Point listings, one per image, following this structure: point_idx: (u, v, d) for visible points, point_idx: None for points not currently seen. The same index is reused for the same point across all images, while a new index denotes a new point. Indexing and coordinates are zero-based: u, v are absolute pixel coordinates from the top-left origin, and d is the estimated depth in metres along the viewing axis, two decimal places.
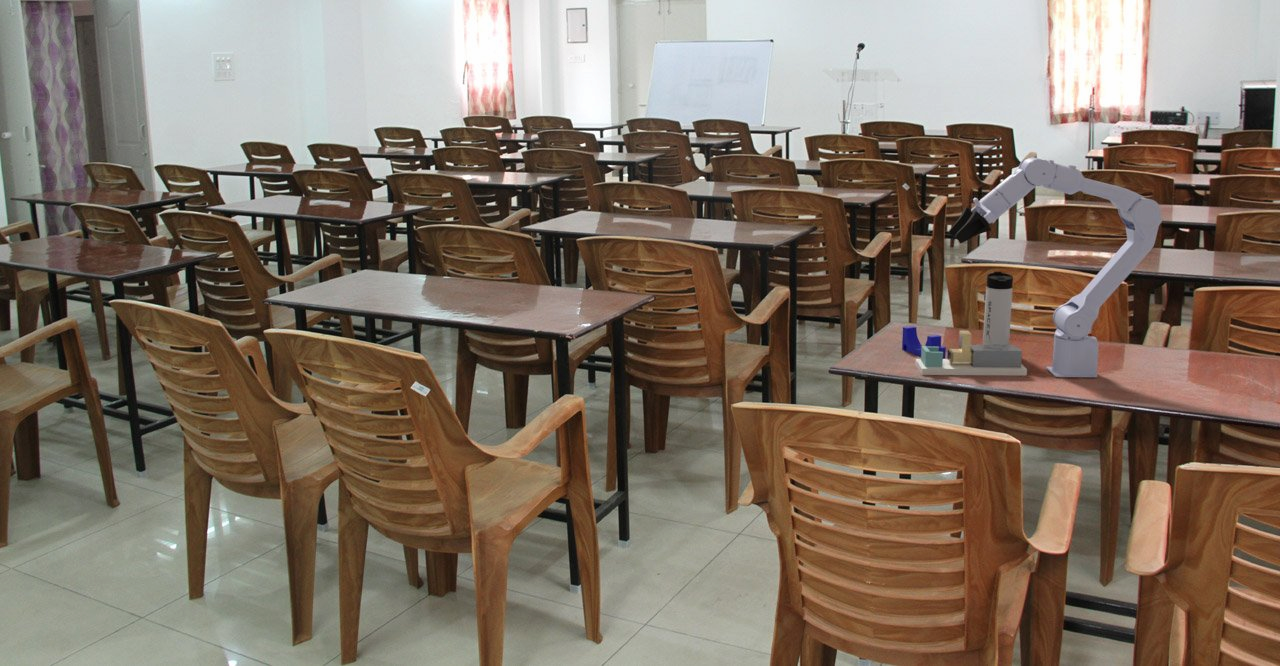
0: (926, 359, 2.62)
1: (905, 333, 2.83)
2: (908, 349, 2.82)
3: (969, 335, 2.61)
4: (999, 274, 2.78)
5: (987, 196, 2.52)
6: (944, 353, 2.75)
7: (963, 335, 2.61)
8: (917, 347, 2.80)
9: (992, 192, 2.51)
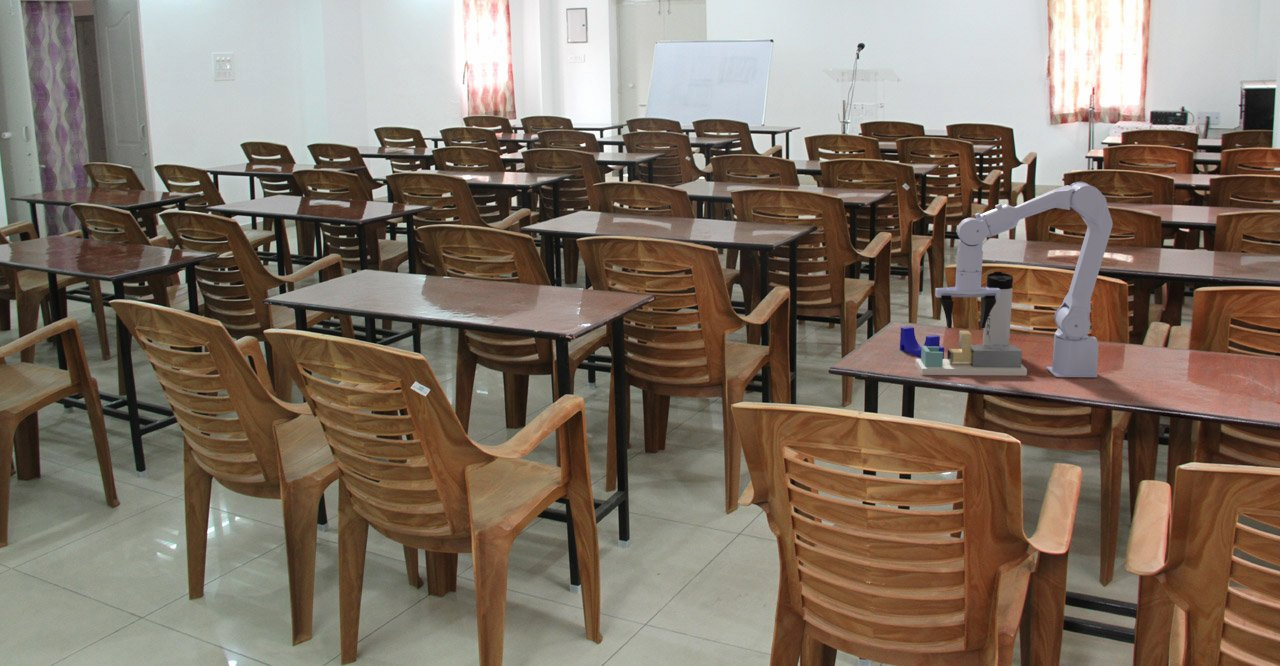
0: (926, 359, 2.62)
1: (903, 333, 2.82)
2: (906, 349, 2.82)
3: (969, 335, 2.61)
4: (999, 274, 2.78)
5: None
6: None
7: (963, 335, 2.61)
8: (915, 347, 2.80)
9: None
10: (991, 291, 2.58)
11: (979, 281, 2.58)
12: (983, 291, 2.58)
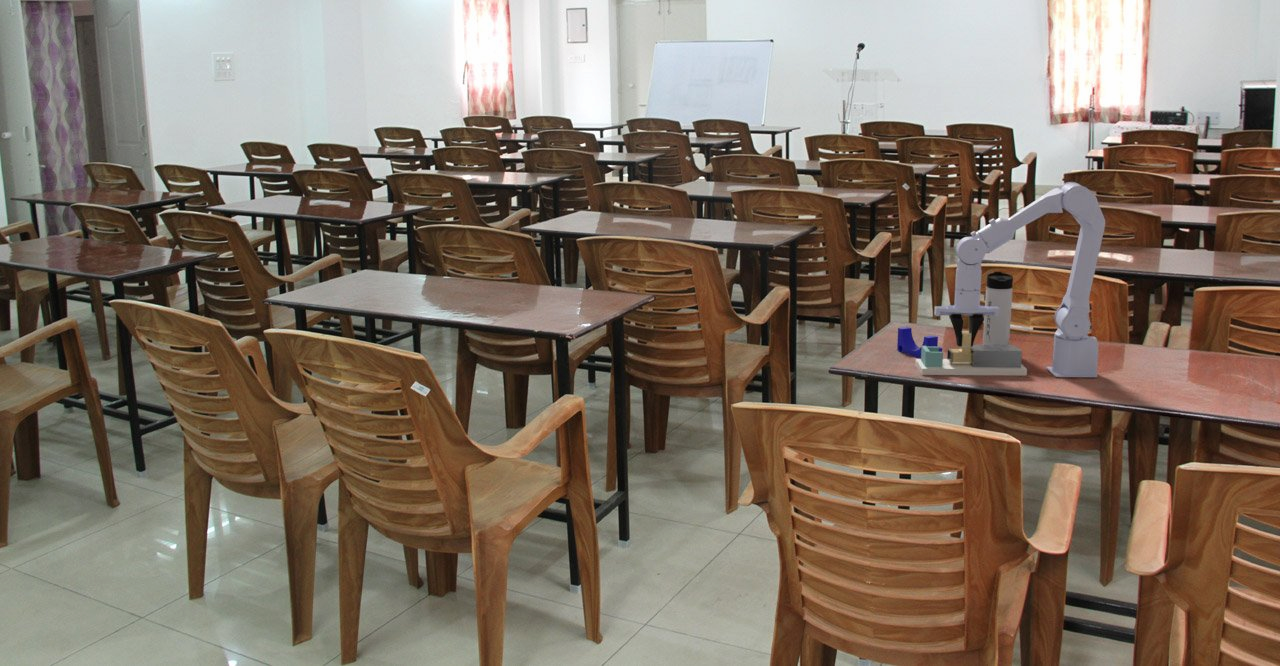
0: (926, 359, 2.62)
1: (900, 334, 2.82)
2: (904, 350, 2.81)
3: (969, 335, 2.61)
4: (999, 274, 2.78)
5: None
6: None
7: (963, 335, 2.61)
8: (913, 348, 2.80)
9: None
10: (990, 309, 2.59)
11: (978, 300, 2.59)
12: (982, 310, 2.59)
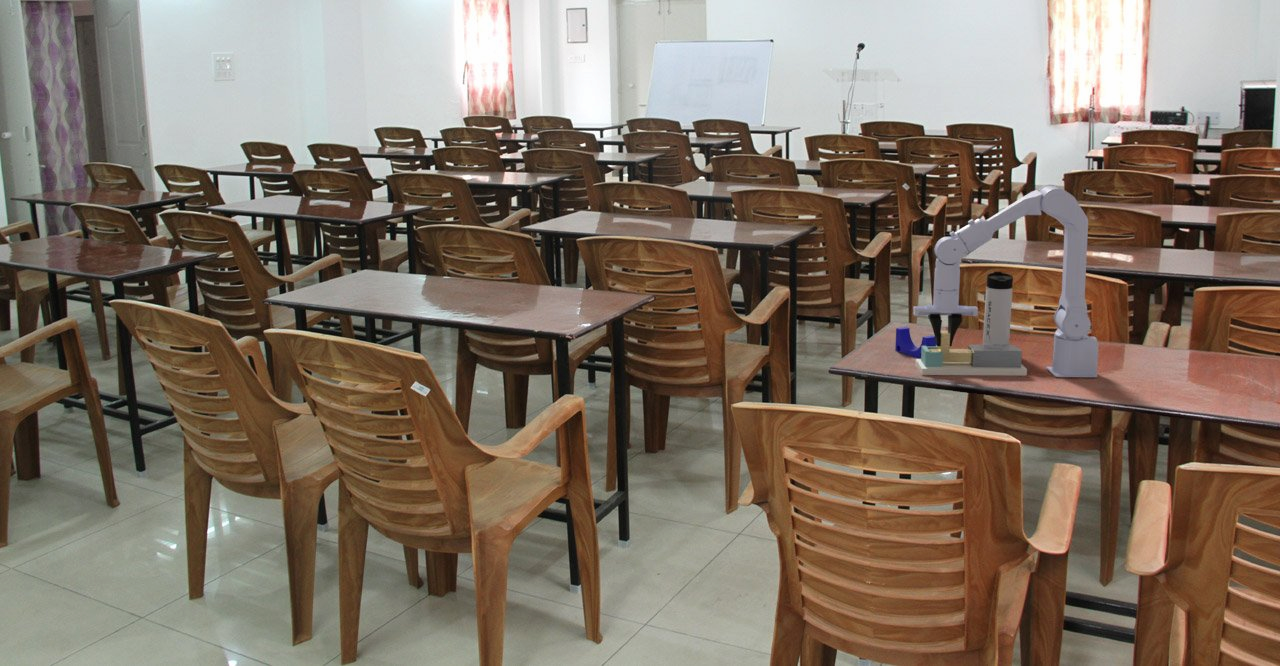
0: (926, 359, 2.62)
1: (898, 334, 2.82)
2: (902, 350, 2.81)
3: (948, 335, 2.61)
4: (999, 274, 2.78)
5: None
6: None
7: (942, 335, 2.61)
8: (911, 348, 2.80)
9: None
10: (968, 309, 2.60)
11: (956, 300, 2.59)
12: (960, 310, 2.59)
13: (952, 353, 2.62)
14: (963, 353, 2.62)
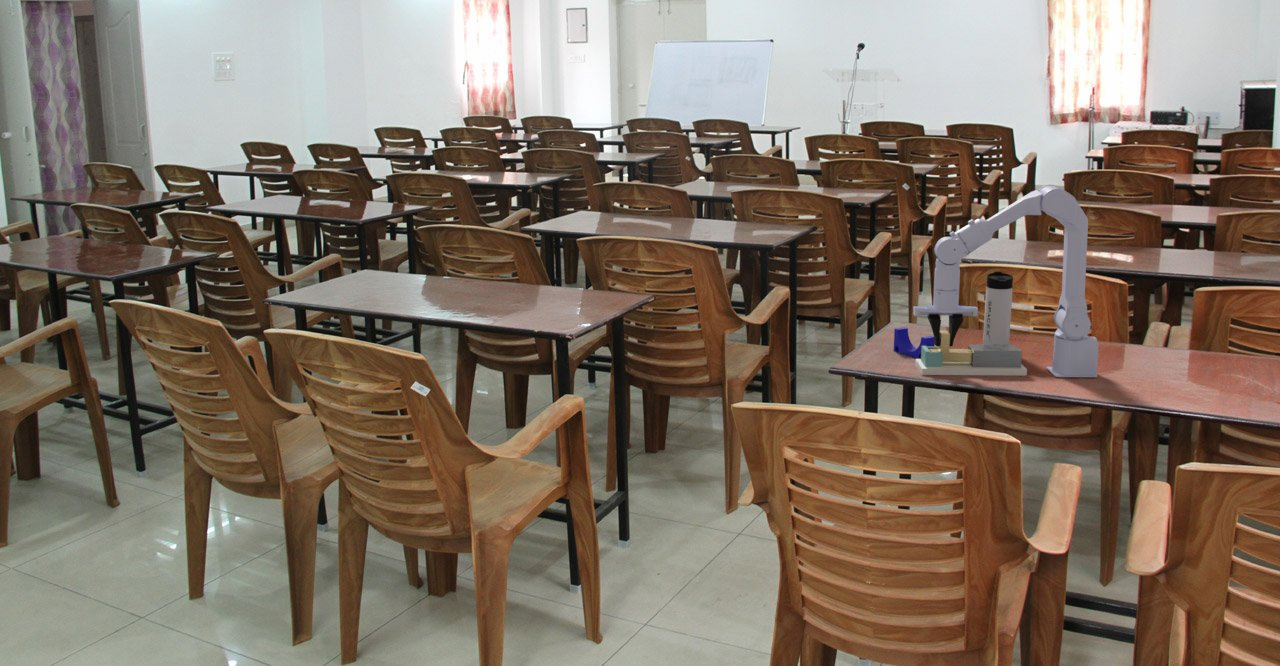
0: (926, 359, 2.62)
1: (897, 334, 2.81)
2: (900, 350, 2.81)
3: (948, 335, 2.61)
4: (999, 274, 2.78)
5: None
6: None
7: (941, 335, 2.61)
8: (909, 348, 2.79)
9: None
10: (968, 309, 2.60)
11: (956, 300, 2.59)
12: (960, 310, 2.59)
13: (952, 353, 2.62)
14: (963, 353, 2.62)
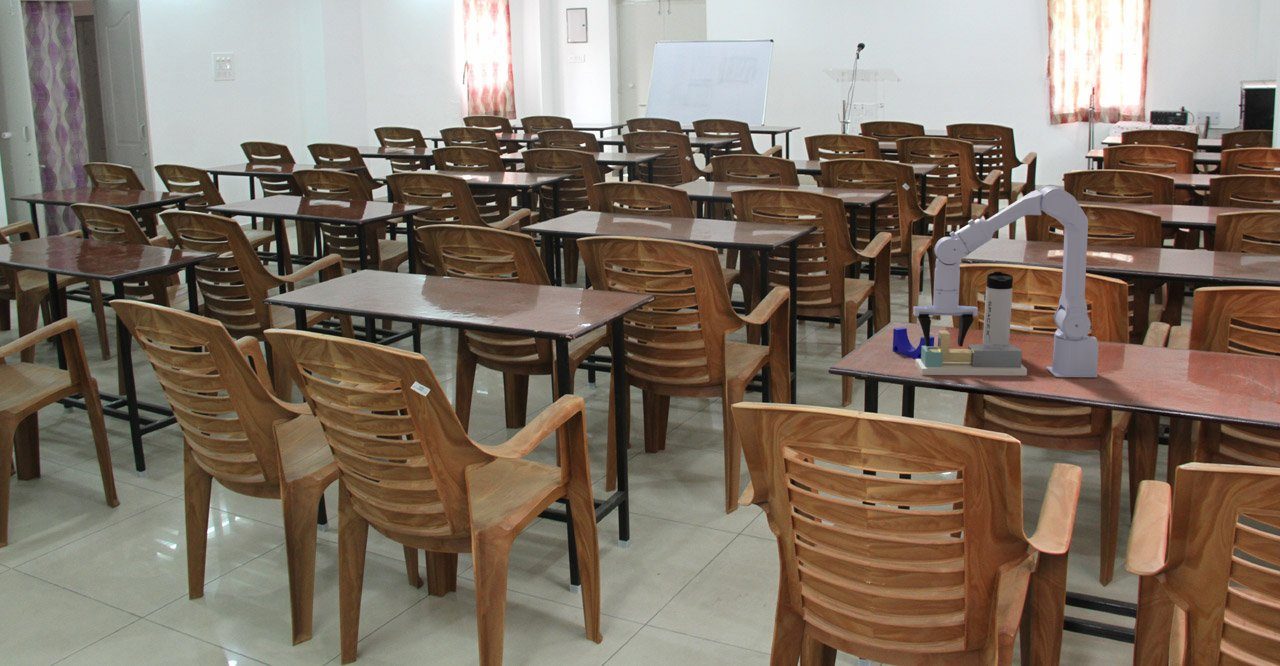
0: (926, 359, 2.62)
1: (896, 335, 2.81)
2: (899, 351, 2.81)
3: (948, 335, 2.61)
4: (999, 274, 2.78)
5: None
6: None
7: (941, 335, 2.61)
8: (909, 348, 2.79)
9: None
10: (968, 309, 2.60)
11: (956, 300, 2.59)
12: (960, 310, 2.59)
13: (952, 353, 2.62)
14: (963, 353, 2.62)
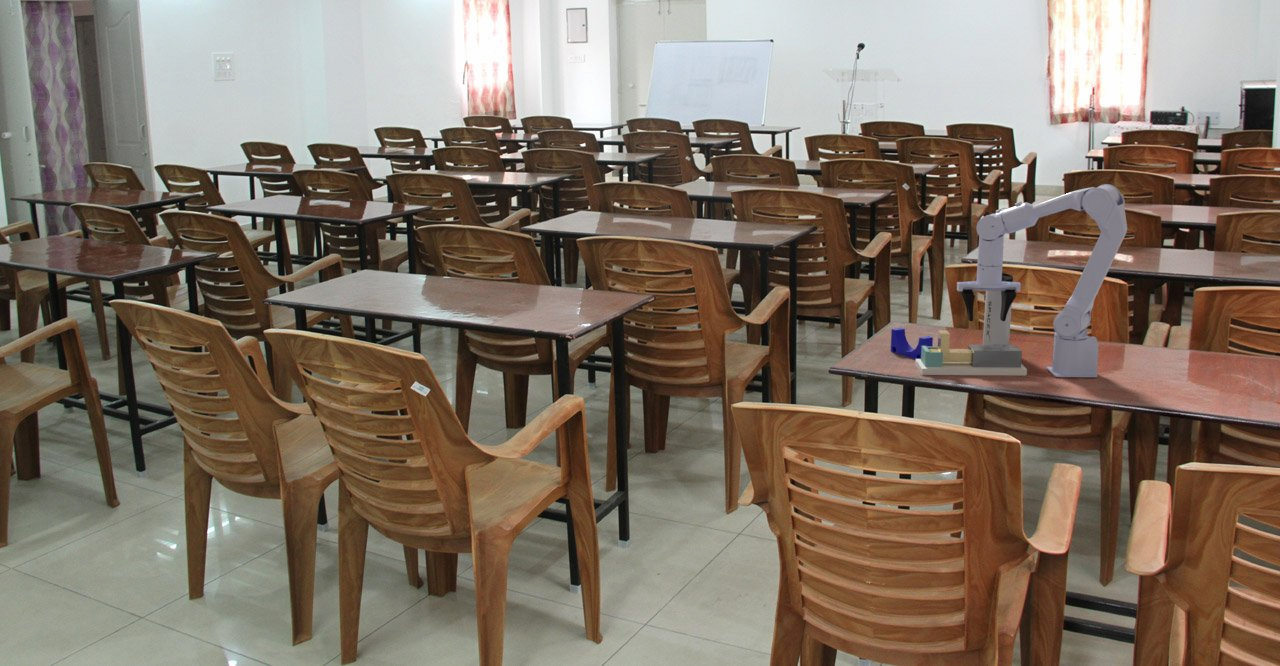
0: (926, 359, 2.62)
1: (894, 335, 2.81)
2: (897, 351, 2.80)
3: (948, 335, 2.61)
4: None
5: None
6: None
7: (941, 335, 2.61)
8: (907, 349, 2.79)
9: None
10: (1011, 285, 2.65)
11: (1000, 275, 2.64)
12: (1004, 285, 2.65)
13: (952, 353, 2.62)
14: (963, 353, 2.62)
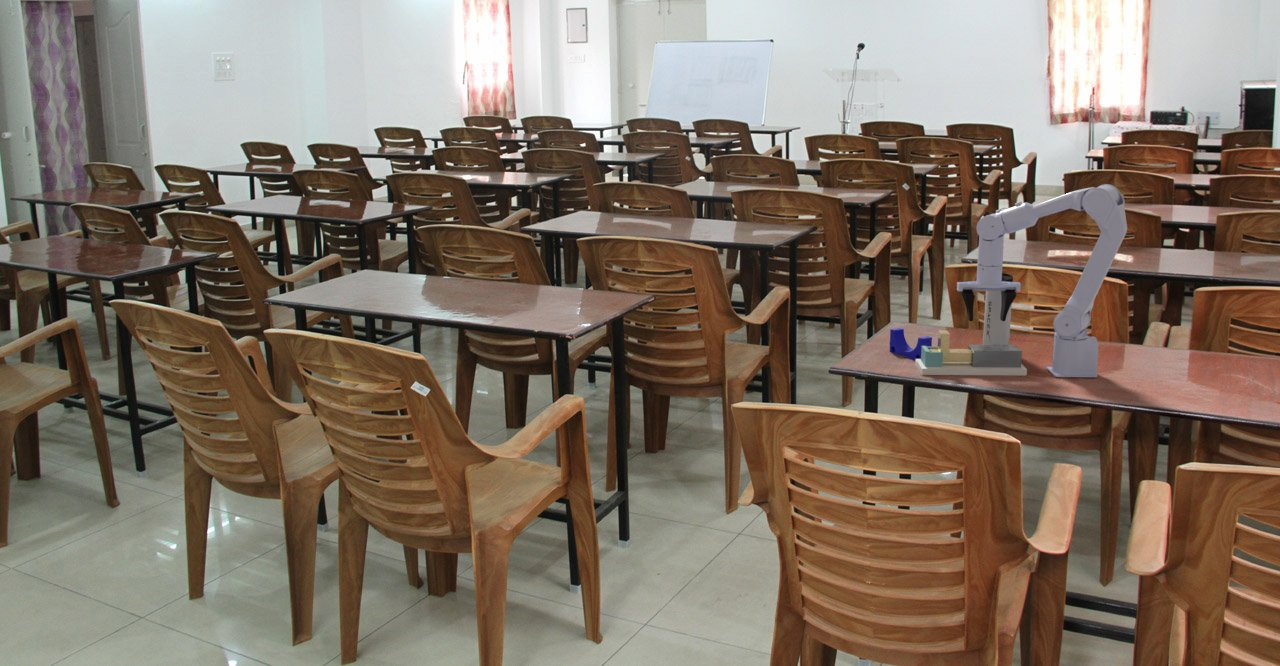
0: (926, 359, 2.62)
1: (893, 335, 2.81)
2: (896, 351, 2.80)
3: (948, 335, 2.61)
4: None
5: None
6: None
7: (941, 335, 2.61)
8: (906, 349, 2.79)
9: None
10: (1011, 285, 2.65)
11: (1000, 275, 2.64)
12: (1004, 285, 2.65)
13: (952, 353, 2.62)
14: (963, 353, 2.62)
